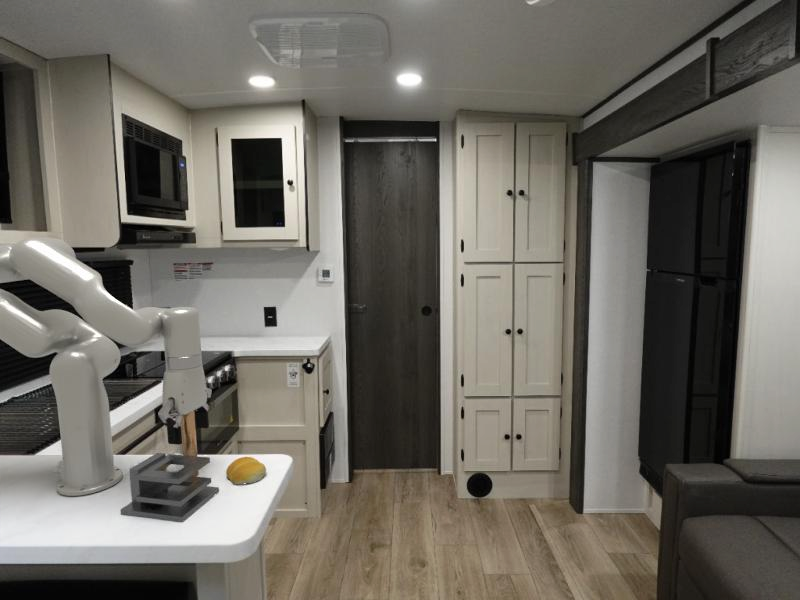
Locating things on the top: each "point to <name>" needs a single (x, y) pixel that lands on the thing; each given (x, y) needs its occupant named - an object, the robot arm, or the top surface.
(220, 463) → the top surface
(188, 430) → the brown rod
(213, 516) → the top surface
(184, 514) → the collar stand
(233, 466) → the bread roll
